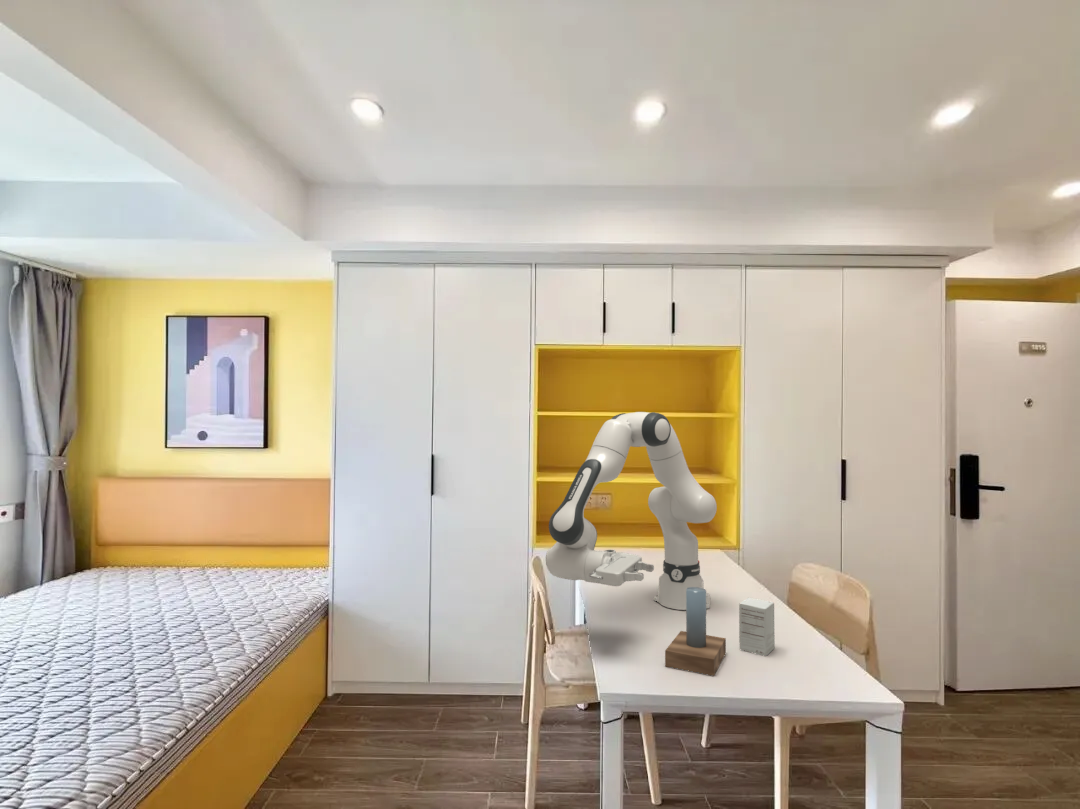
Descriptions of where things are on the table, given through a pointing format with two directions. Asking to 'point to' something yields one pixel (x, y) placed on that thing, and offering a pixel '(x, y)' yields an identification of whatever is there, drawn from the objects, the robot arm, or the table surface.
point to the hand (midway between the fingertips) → (648, 572)
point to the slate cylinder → (696, 617)
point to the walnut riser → (696, 654)
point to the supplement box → (756, 626)
